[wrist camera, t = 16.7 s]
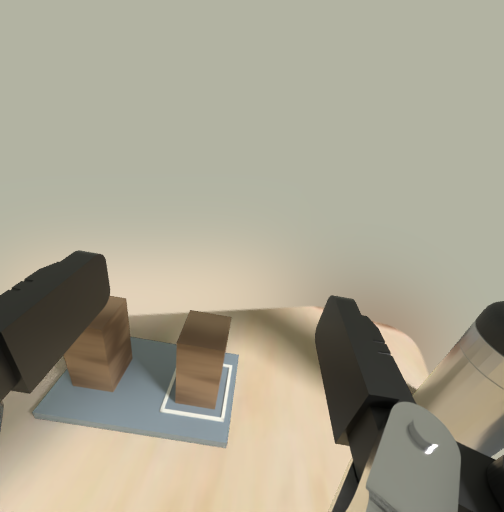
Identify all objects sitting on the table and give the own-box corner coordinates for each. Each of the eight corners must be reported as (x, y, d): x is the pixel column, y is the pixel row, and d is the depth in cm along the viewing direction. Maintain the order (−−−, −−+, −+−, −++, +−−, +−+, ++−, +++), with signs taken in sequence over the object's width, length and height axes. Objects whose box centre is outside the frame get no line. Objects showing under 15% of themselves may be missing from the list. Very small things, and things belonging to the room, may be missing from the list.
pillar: (187, 367, 36) (190, 310, 30) (221, 373, 36) (231, 317, 30) (175, 403, 31) (176, 343, 26) (214, 409, 31) (224, 351, 26)
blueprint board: (98, 336, 39) (96, 330, 38) (237, 359, 39) (238, 354, 39) (34, 418, 28) (31, 411, 28) (225, 448, 29) (227, 442, 28)
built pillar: (97, 352, 35) (84, 291, 30) (132, 358, 35) (126, 298, 30) (72, 385, 31) (52, 321, 25) (113, 392, 31) (101, 329, 26)
